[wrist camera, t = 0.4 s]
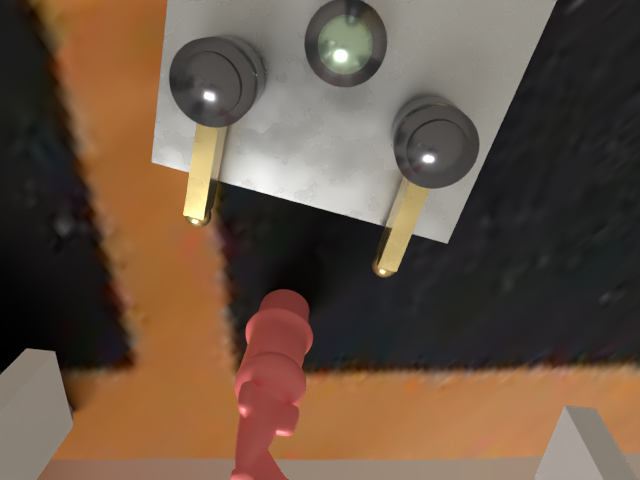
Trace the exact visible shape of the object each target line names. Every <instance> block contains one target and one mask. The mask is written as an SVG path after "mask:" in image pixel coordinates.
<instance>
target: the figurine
mask: <svg viewBox="0 0 640 480" xmlns="http://www.w3.org/2000/svg"><path fill="white" fill-rule="evenodd" d="M308 318H309V306H308V303H307V301H306V300H305V299H304V298H303V297H302V296H301V295H300V294H298V293H297V292H295V291H292V290H287V289H280V290H275V291H272V292H270V293H269V294H267V295H266V296H265V297H264V299H263V300H262V303H261V305H260V309H259V312H257V313H256V314H255V315H253V316H252V317H251V319H250V320H249V322H248V324H247V326H246V340H247V343H248V346H247V349H246V352H245V355H244V357H243V360H242V363H241V367H240V368H239V370H238V372H237V375H236V379H235V393H236V397H237V399H238V409H239V411H240V419H239V424H238V431H237V439H236V449H235V469H234V470H233V471H232V474H231V480H288V479H287V478H286V477H285V476H284V475H283V473H282V472H281V470H280V469H279V467H278V466H277V465H276V463H275V461H274V459H273V458H272V456H271V455H270V453H269V451H268V448H269V446H270V445H271V443H272V441H273V439H274V437H275V435H280V436H290V435H292V434H293V433H294V431H295V429H296V426H297V423H298V419H299V409H298V408H297V406H298V405H299V404H300V402H301V401H302V399H303V397H304V394H305V391H306V377H305V374H304V372H303V370H302V368H301V367H302V364H303V360H304V355H305V354H306V353H307V352H308V351H309V349H310V347H311V345H312V341H313V333H312V330H311V327H310V325H309V324H308Z"/></svg>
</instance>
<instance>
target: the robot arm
mask: <svg viewBox="0 0 640 480" xmlns="http://www.w3.org/2000/svg"><path fill="white" fill-rule="evenodd" d="M72 428H73V422H72V418H71V414H70V410H69V406H68V402H67V398H66V394H65V390H64V386H63V382H62V378H61V374H60V370H59V366H58V362H57V358H56V354H55V351H46V350H37V349H27V348H26V349H25V350H24V351H23V352H22V354H21V355H20V356H19V357H18V358H17V359H16V360H15V361H14V362H13V363H12V364H11V365H10V366H9V367H8V368H7V369H6V370H5V371H4V372H3V373H2V374H1V375H0V480H36V479H37V478H38V477H39V475H40V473H41V472H42V471H43V469H44V468H45V466H46V465H47V464H48V462H49V461H50V459H51V458H52V456H53V455H54V454H55V452H56V451H57V449H58V448H59V446H60V445H61V443H62V442H63V441H64V439H65V438H66V436H67V435H68V433H69V432H70V431H71V429H72ZM535 480H638V478H637V477H636V475H635V473H634V472H633V470H632V468H631V467H630V465H629V463H628V462H627V460H626V459H625V457H624V455H623V453H622V452H621V450H620V448H619V446H618V445H617V443H616V441H615V440H614V438H613V436H612V435H611V433H610V431H609V430H608V428H607V426H606V425H605V423H604V421H603V420H602V418H601V416H600V415H599V413H598V411H597V410H596V409H594V408H584V407H575V406H564V408H563V411H562V413H561V415H560V418H559V420H558V423H557V425H556V427H555V430H554V432H553V435H552V437H551V439H550V442H549V444H548V447H547V449H546V451H545V454H544V456H543V458H542V461H541V463H540V466H539V468H538V470H537V473H536V475H535Z"/></svg>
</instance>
